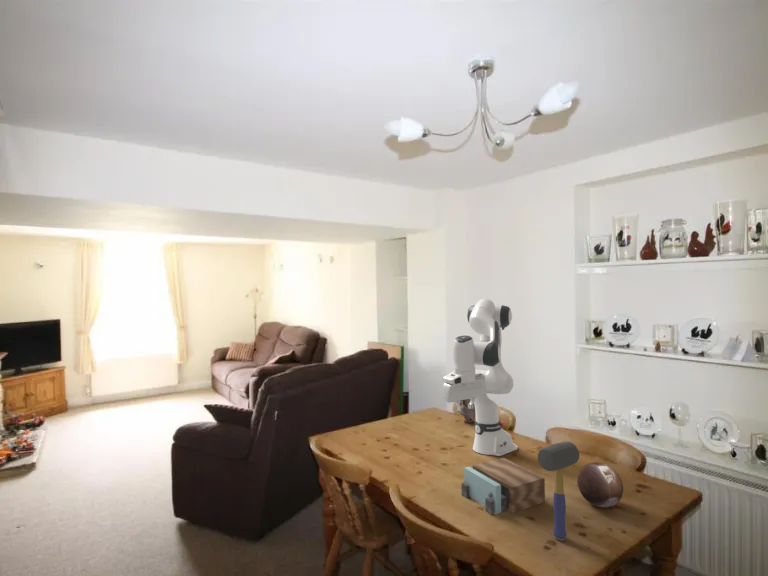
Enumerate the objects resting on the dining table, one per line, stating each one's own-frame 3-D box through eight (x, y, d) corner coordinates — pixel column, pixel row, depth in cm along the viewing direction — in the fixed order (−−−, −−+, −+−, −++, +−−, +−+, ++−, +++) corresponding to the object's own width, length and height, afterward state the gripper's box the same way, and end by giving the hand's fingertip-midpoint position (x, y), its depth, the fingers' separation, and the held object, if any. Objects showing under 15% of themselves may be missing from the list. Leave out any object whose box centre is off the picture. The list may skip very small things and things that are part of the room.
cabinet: (503, 479, 181) (503, 457, 181) (544, 502, 161) (544, 477, 161) (457, 492, 170) (457, 469, 170) (495, 518, 151) (495, 492, 151)
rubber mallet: (556, 550, 132) (555, 451, 132) (536, 538, 138) (535, 444, 138) (583, 538, 138) (581, 444, 138) (562, 527, 144) (561, 437, 144)
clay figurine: (472, 418, 266) (471, 377, 266) (483, 422, 257) (482, 380, 257) (455, 421, 260) (454, 379, 260) (465, 425, 251) (465, 382, 251)
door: (469, 492, 170) (469, 466, 170) (501, 512, 154) (500, 484, 154) (462, 493, 169) (462, 468, 169) (494, 515, 153) (493, 486, 153)
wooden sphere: (603, 519, 149) (602, 475, 149) (568, 500, 163) (568, 460, 163) (633, 509, 155) (632, 467, 155) (597, 492, 169) (596, 453, 169)
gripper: (479, 371, 185) (480, 403, 186) (439, 377, 176) (440, 411, 176) (489, 374, 180) (490, 407, 180) (449, 381, 170) (450, 416, 171)
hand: (465, 409), depth 178 cm, fingers open, 4 cm apart
